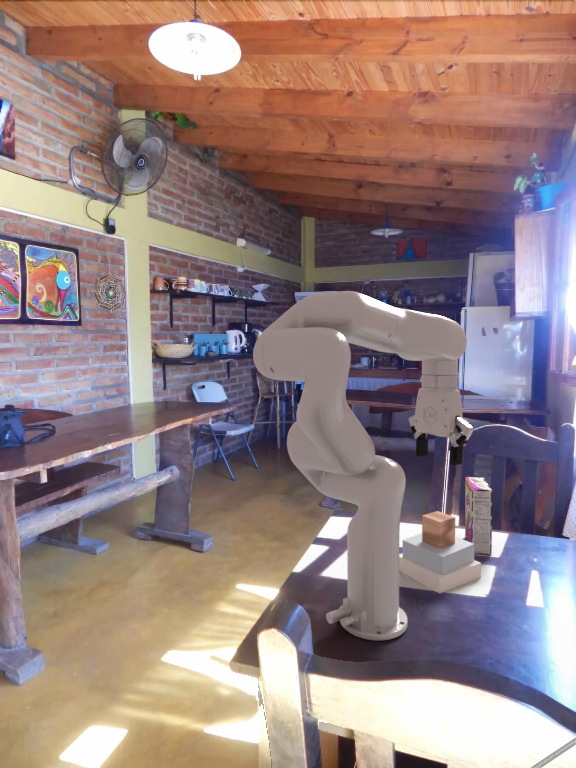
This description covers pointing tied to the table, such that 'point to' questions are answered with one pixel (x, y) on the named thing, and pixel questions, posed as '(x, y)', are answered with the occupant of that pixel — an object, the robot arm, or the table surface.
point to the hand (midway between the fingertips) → (438, 459)
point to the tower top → (438, 554)
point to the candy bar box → (478, 514)
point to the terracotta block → (438, 529)
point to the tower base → (437, 580)
